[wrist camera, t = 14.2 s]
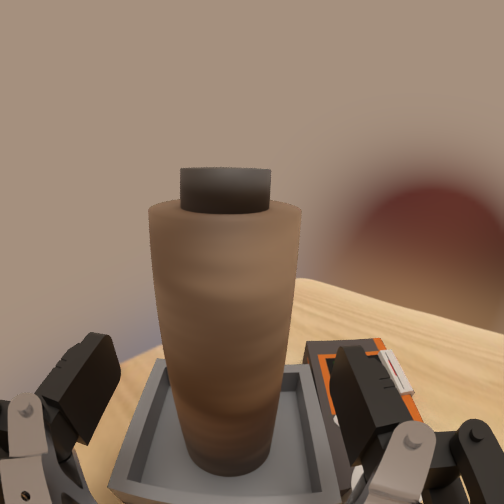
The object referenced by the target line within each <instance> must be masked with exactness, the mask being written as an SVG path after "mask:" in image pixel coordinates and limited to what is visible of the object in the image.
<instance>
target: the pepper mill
mask: <svg viewBox="0 0 504 504" xmlns="http://www.w3.org/2000/svg"><path fill="white" fill-rule="evenodd" d="M270 184H271V170H269V169H256V168H227V167H226V168H224V167H209V168H208V167H206V168H205V167H204V168H181V169H180V199H178V200H171V201H166V202H162V203H158V204H156V205H153V206H151V207H150V208H149V210H148V212H149V232H150V247H151V259H152V270H153V280H154V289H155V297H156V305H157V312H158V319H159V326H160V332H161V338H162V344H163V350H164V355H165V361H166V366H167V371H168V376H169V380H170V385H171V390H172V394H173V398H174V403H175V407H176V411H177V415H178V419H179V422H180V426H181V430H182V433H183V437H184V440H185V444H186V447H187V451H188V453H189V456H190V457H191V459H192V460H193V462H194V463H195V464H196V465H197V466H198V467H200V468H201V469H203V470H204V471H206V472H208V473H211V474H213V475H217V476H222V477H237V476H242V475H246V474H248V473H251V472H253V471H255V470H256V469H258V468H259V467H260V466H261V465H262V464H263V463H264V462H265V461H266V459H267V457H268V455H269V453H270V448H271V443H272V437H273V432H274V427H275V421H276V415H277V410H278V404H279V398H280V392H281V385H282V379H283V372H284V366H285V359H286V352H287V345H288V337H289V330H290V322H291V314H292V305H293V297H294V288H295V279H296V269H297V259H298V248H299V237H300V225H301V212H302V211H301V209H299V208H298V207H296V206H293V205H291V204H287V203H283V202H278V201H273V200H270Z"/></svg>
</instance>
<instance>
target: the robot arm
mask: <svg viewBox="0 0 504 504" xmlns="http://www.w3.org/2000/svg"><path fill="white" fill-rule="evenodd" d="M120 376H121V369H120V365H119V361H118V358H117V355H116V352H115V349H114V345H113V342H112V339H111V337H110V336H109V335H105V334H99V333H94V332H90V333H89V334H88V335H87V336H86V337H85V338H84V340H83V341H82V342H81V343H78V344H76V345H75V346H73V347H72V348H70V349H69V350H68V351H67V352H66V353H65V354H64V356H63V357H62V358H61V360H60V361H59V362H58V363H57V364H56V367H55V368H53V369H52V371H51V372H50V373H49V375H48V376H47V377H46V379H45V380H44V381H43V382H42V384H41V385H40V386H39V388H38V389H37V390H36V392H35V393H34V394H33V393H22V394H19V395H17V396H16V397H14V398H13V399H12V401H5V400H0V504H97V502H96V501H95V500H94V498H93V497H92V495H91V493H90V491H89V489H88V486H87V484H86V481H85V478H84V475H83V472H82V469H81V466H80V463H79V460H78V456H77V453H76V450H75V449H74V445H75V443H76V442H78V443H81V444H84V445H86V446H88V444H89V442H90V440H91V438H92V436H93V433H94V431H95V429H96V427H97V425H98V423H99V421H100V419H101V417H102V415H103V413H104V411H105V409H106V407H107V405H108V403H109V401H110V399H111V397H112V395H113V393H114V391H115V389H116V387H117V385H118V383H119V381H120ZM329 390H330V396H331V399H332V402H333V406H334V409H335V413H336V416H337V420H338V423H339V427H340V430H341V434H342V437H343V441H344V445H345V448H346V452H347V456H348V459H349V463H350V467H355V466H359V465H362V467H363V471H364V472H363V474H362V475H361V477H360V479H359V481H358V482H357V484H356V486H355V488H354V489H353V491H352V493H351V495H350V496H349V498H348V499H347V501H346V503H345V504H422V503H420V502H419V499H420V495H421V496H422V500H423V503H424V504H469V501H468V499H467V496H466V493H465V490H464V487H463V485H462V482H461V480H460V477H459V476H462V478H463V481H464V484H465V486H466V489H467V492H468V494H469V497H470V504H504V452H503V451H502V449H501V447H500V445H499V443H498V441H497V439H496V437H495V436H494V434H493V432H492V430H491V429H490V427H489V426H488V425H487V424H486V423H485V422H483V421H481V420H478V419H470V420H467V421H465V422H464V423H463V424H462V425H461V426H460V428H459V429H458V430H457V431H448V432H434V431H433V430H432V429H431V428H430V427H429V426H428V425H427V424H425V423H423V422H420V421H414V420H413V418H412V416H411V414H410V412H409V410H408V408H407V406H406V404H405V403H404V401H403V399H402V397H401V395H400V393H399V391H398V390H397V388H395V384H394V382H393V380H392V379H390V375H389V373H388V371H387V370H386V368H385V366H384V365H382V364H381V363H380V362H379V361H378V360H376V359H375V358H368V357H367V355H366V353H365V351H364V349H363V347H362V346H361V345H353V346H340V347H339V348H338V350H337V353H336V357H335V361H334V365H333V369H332V373H331V376H330V381H329Z"/></svg>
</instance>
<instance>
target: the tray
mask: <svg viewBox="0 0 504 504" xmlns="http://www.w3.org/2000/svg"><path fill="white" fill-rule="evenodd" d="M107 487H108V488H109V489H110V490H111V491H112V492H113V493H114V494H115V495H116V496H117V497H118V498H119V499H121V500H122V501H123V502H124V503H126V504H341V503H342V500H341V496H340V491H339V486H338V482H337V477H336V473H335V468H334V464H333V459H332V455H331V451H330V446H329V442H328V438H327V434H326V430H325V425H324V421H323V417H322V413H321V409H320V405H319V401H318V397H317V393H316V389H315V385H314V381H313V377H312V373H311V370H310V366H309V364H297V365H285V366H284V372H283V379H282V385H281V392H280V398H279V404H278V410H277V415H276V421H275V427H274V432H273V437H272V443H271V448H270V453H269V455H268V457H267V459H266V461H265V462H264V463H263V464H262V465H261V466H260V467H259V468H258V469H256V470H255V471H253V472H251V473H248V474H246V475H242V476H237V477H222V476H217V475H213V474H211V473H208V472H206V471H204V470H203V469H201V468H200V467H198V466H197V465H196V464H195V463H194V462H193V460H192V459H191V457H190V456H189V453H188V451H187V447H186V444H185V440H184V437H183V433H182V430H181V426H180V422H179V419H178V415H177V411H176V407H175V403H174V398H173V394H172V390H171V385H170V380H169V376H168V371H167V366H166V361H165V359H159V358H157V359H156V362H155V364H154V366H153V369H152V371H151V373H150V376H149V378H148V381H147V383H146V385H145V388H144V390H143V393H142V395H141V398H140V400H139V403H138V405H137V408H136V410H135V413H134V415H133V418H132V420H131V423H130V425H129V428H128V431H127V433H126V436H125V439H124V441H123V444H122V447H121V449H120V452H119V455H118V458H117V460H116V463H115V466H114V469H113V472H112V475H111V477H110V480H109V483H108V486H107Z"/></svg>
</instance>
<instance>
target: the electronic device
mask: <svg viewBox="0 0 504 504" xmlns="http://www.w3.org/2000/svg"><path fill="white" fill-rule="evenodd" d="M353 345H361V346H362V347H363V349H364V351H365V353H366V355H367V357H368V358H375V359H376V360H378V361H379V362H380V363H381V364H382V365H384V366H385V368H386V370H387V371H388V373H389V375H390V379H392V380H393V382H394V384H395V388H397V390H398V391H399V393H400V395H401V397H402V399H403V401H404V403H405V404H406V406H407V408H408V410H409V412H410V414H411V416H412V418H413V420H414V421H420V422H423V420H422V418H421V416H420V414H419V412H418V409H417V407H416V405H415V403H414V401H413V399H412V396H413V394H414V393H415V392H414V390H413V388H412V387H411V385H410V383H409V381H408V379H407V377H406V375H405V373H404V371H403V370H402V368H401V366H400V364H399V362H398V360H397V359H396V357H395V355H394V353H393V351H392V350H391V349H389V350H387V349H386V347H385V345H384V343H383V342H382V340H381V338H372V339H357V340H336V341H306V347H305V352H304V357H303V364H309V366H310V370H311V373H312V377H313V381H314V385H315V389H316V393H317V397H318V401H319V405H320V409H321V413H322V417H323V421H324V425H325V430H326V434H327V438H328V442H329V446H330V451H331V455H332V459H333V464H334V468H335V473H336V477H337V482H338V486H339V491H340V496H341V500H342V504H345V503H346V501H347V499H348V498H349V496H350V495H351V493H352V491H353V489H354V488H355V486H356V484H357V482H358V481H359V479H360V477H361V475H362V474H363V472H364V471H363V467H362V465H359V466H355V467H350V463H349V459H348V456H347V452H346V448H345V445H344V441H343V437H342V434H341V430H340V427H339V423H338V420H337V416H336V413H335V409H334V406H333V402H332V399H331V396H330V390H329V381H330V376H331V373H332V369H333V365H334V361H335V357H336V353H337V350H338V348H339V347H340V346H353ZM423 423H424V422H423ZM421 501H422V496H421V495H420V499H419V502H421Z"/></svg>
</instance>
